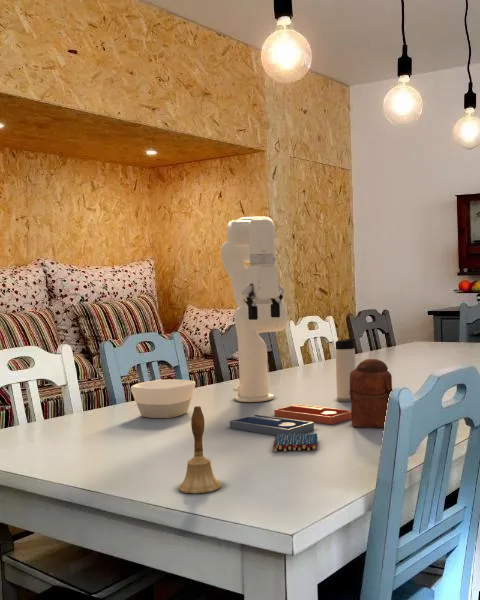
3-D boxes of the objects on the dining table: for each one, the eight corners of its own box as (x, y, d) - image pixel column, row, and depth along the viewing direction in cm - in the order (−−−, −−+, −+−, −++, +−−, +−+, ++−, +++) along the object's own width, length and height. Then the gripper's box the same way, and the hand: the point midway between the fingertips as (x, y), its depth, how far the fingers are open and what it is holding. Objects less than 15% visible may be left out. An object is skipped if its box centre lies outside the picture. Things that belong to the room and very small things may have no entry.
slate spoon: (244, 425, 197) (244, 417, 196) (256, 422, 200) (255, 414, 200) (287, 432, 186) (287, 423, 186) (299, 428, 190) (298, 420, 190)
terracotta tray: (274, 416, 210) (274, 409, 210) (297, 410, 218) (296, 404, 218) (332, 424, 196) (331, 417, 196) (354, 417, 204) (354, 410, 204)
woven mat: (275, 441, 179) (274, 433, 179) (318, 440, 178) (317, 432, 178) (272, 452, 168) (271, 443, 168) (317, 450, 168) (317, 442, 168)
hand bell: (180, 482, 146) (177, 404, 145) (221, 480, 146) (218, 402, 146) (176, 495, 138) (173, 412, 137) (220, 492, 138) (217, 409, 138)
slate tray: (229, 428, 196) (229, 420, 196) (255, 421, 204) (255, 414, 204) (288, 437, 183) (288, 429, 183) (314, 429, 190) (313, 422, 190)
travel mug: (356, 401, 229) (354, 338, 228) (335, 401, 230) (333, 339, 230) (358, 398, 235) (356, 337, 234) (338, 398, 237) (336, 337, 236)
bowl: (205, 410, 223) (204, 380, 223) (172, 422, 207) (170, 389, 207) (158, 407, 231) (156, 378, 230) (122, 418, 215) (120, 387, 214)
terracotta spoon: (287, 414, 210) (287, 406, 210) (298, 411, 214) (297, 404, 214) (330, 419, 200) (329, 411, 200) (340, 416, 204) (339, 409, 204)
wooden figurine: (396, 423, 194) (394, 357, 194) (392, 429, 188) (390, 360, 187) (352, 422, 197) (350, 357, 197) (348, 428, 191) (346, 360, 191)
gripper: (272, 261, 223) (274, 316, 224) (232, 261, 210) (234, 320, 211) (291, 260, 218) (293, 316, 219) (251, 260, 205) (253, 320, 206)
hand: (264, 318), depth 215 cm, fingers open, 9 cm apart
